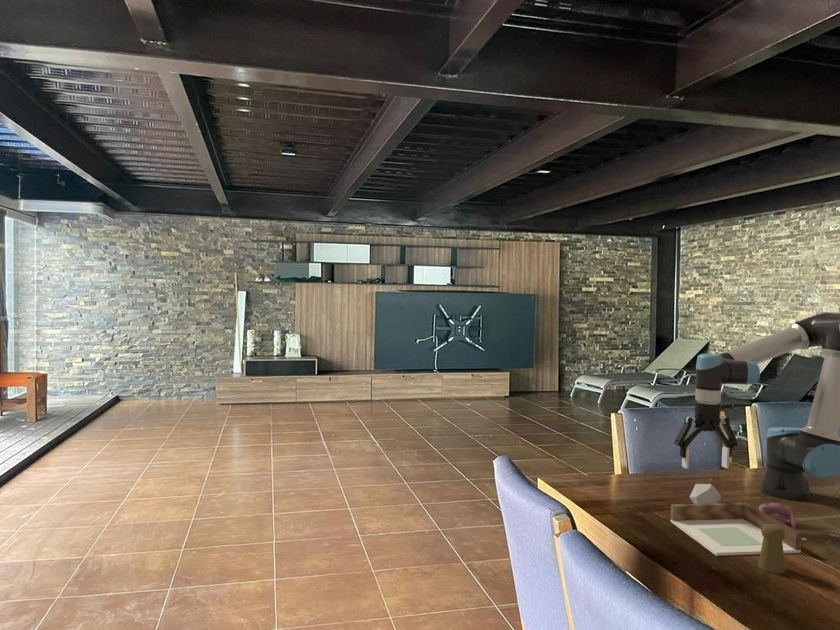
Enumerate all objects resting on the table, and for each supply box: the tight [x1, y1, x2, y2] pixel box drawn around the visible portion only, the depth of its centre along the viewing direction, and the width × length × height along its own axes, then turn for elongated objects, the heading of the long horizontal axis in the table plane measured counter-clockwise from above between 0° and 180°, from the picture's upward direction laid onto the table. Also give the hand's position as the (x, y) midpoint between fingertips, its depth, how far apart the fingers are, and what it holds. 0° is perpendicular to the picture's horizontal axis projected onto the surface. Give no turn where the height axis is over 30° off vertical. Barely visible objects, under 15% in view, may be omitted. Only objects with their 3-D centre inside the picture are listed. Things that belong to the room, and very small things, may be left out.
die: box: [688, 483, 722, 504], centre depth 196 cm, size 8×9×10 cm
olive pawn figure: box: [757, 524, 786, 574], centre depth 153 cm, size 6×6×11 cm
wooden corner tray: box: [670, 502, 802, 557], centre depth 174 cm, size 24×24×5 cm
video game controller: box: [758, 502, 797, 529], centre depth 184 cm, size 10×5×7 cm, turn 71°
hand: (705, 467), depth 196 cm, fingers open, 13 cm apart
